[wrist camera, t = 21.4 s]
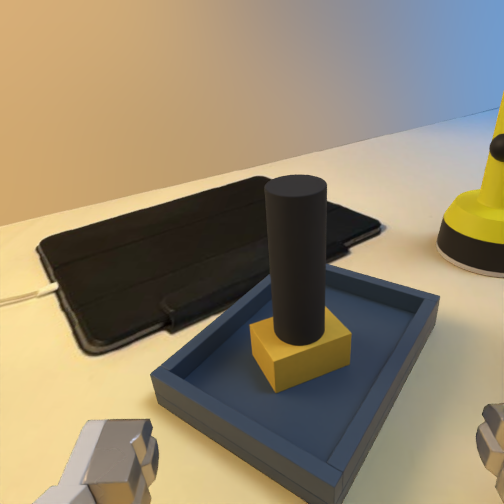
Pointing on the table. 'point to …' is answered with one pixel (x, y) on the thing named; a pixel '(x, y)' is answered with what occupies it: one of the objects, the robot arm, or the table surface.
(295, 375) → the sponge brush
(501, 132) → the flashlight
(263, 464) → the tray
